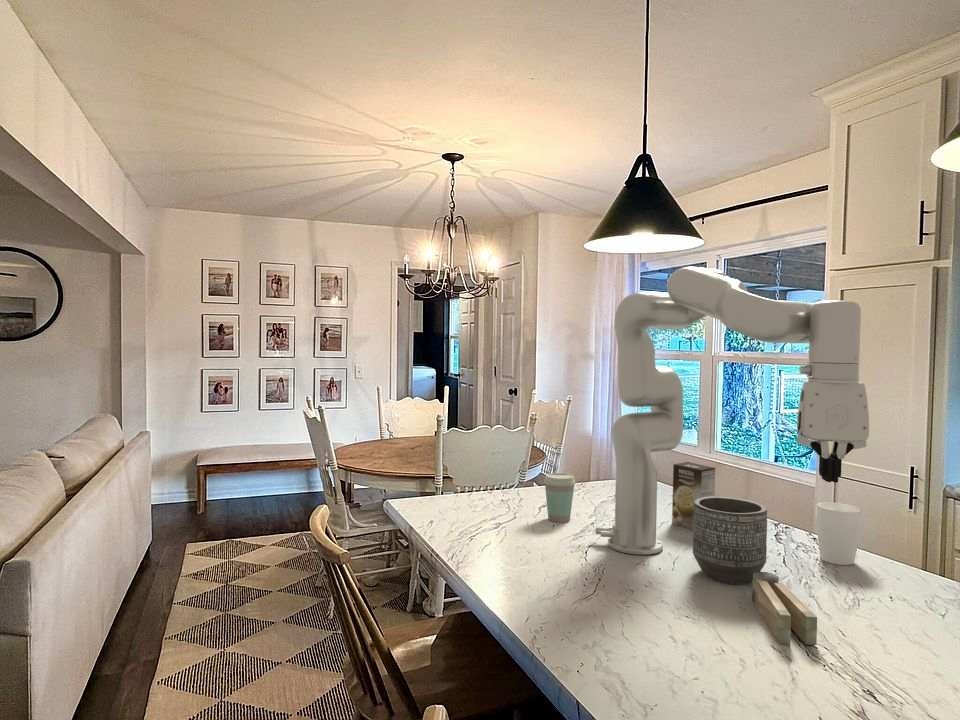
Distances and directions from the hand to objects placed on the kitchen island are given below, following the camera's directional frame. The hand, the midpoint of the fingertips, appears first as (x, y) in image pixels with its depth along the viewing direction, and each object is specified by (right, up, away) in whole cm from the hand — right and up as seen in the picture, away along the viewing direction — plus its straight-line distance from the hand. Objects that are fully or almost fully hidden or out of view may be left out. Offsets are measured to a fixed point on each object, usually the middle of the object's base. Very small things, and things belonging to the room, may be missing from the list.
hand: (829, 480), depth 108 cm
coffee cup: (-38, -23, +63) cm, 78 cm away
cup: (+20, -25, +33) cm, 46 cm away
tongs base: (-8, -25, +3) cm, 26 cm away
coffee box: (-4, -24, +59) cm, 64 cm away
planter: (-8, -25, +23) cm, 35 cm away
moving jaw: (-6, -25, 0) cm, 25 cm away
